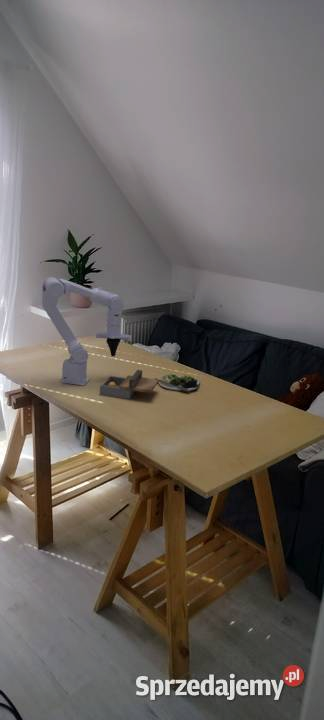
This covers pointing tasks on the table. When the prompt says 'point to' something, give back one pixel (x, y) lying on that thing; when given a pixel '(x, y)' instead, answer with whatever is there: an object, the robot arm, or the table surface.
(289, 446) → the table surface
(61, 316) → the robot arm
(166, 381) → the salad plate
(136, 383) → the lid
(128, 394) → the storage box
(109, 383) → the ball
